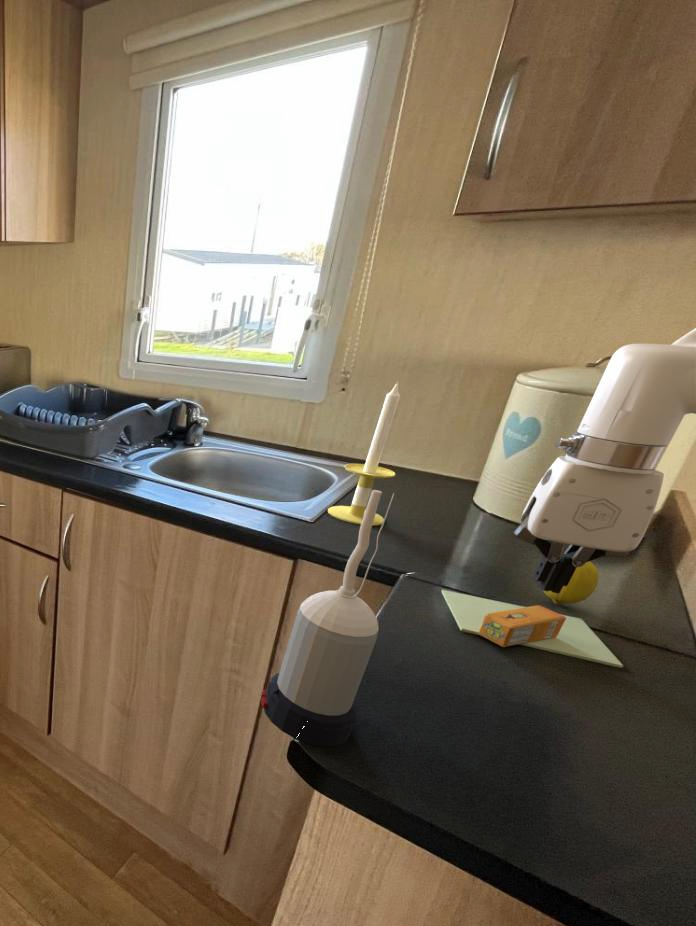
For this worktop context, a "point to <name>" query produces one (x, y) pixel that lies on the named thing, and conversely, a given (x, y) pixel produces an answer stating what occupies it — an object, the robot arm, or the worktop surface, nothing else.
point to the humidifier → (326, 657)
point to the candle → (370, 467)
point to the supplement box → (521, 625)
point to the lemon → (577, 585)
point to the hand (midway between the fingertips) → (546, 587)
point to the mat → (569, 641)
